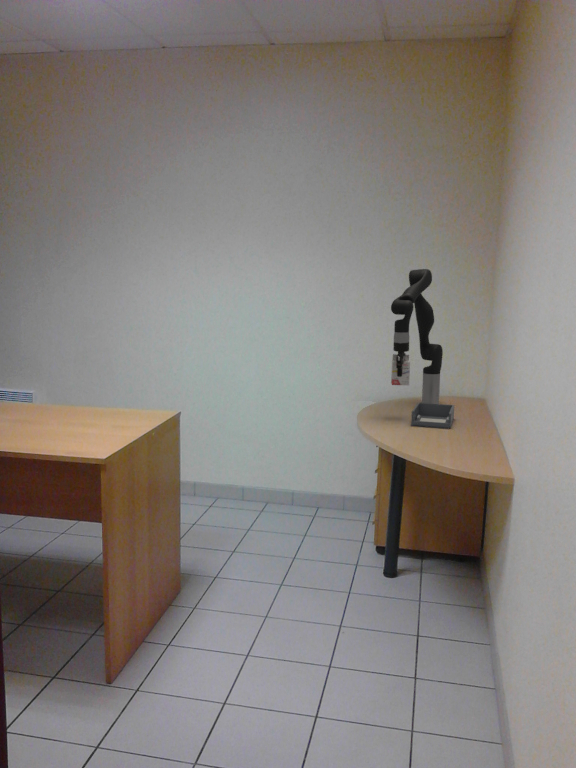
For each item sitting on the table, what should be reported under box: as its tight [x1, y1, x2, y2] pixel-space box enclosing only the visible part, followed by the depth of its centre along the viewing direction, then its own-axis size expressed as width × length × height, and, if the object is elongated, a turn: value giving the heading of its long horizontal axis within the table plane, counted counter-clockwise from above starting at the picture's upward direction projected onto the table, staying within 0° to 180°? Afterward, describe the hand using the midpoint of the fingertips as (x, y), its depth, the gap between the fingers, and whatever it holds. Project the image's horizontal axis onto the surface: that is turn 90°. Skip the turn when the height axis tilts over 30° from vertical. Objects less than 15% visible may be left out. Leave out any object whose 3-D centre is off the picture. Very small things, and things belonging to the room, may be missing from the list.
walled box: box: [410, 402, 455, 430], centre depth 313 cm, size 22×18×7 cm
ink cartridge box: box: [390, 353, 411, 386], centre depth 319 cm, size 9×5×15 cm, turn 84°
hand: (400, 375), depth 319 cm, fingers closed on ink cartridge box, 5 cm apart
